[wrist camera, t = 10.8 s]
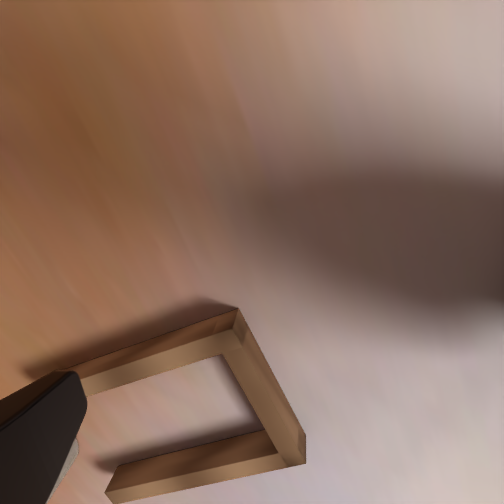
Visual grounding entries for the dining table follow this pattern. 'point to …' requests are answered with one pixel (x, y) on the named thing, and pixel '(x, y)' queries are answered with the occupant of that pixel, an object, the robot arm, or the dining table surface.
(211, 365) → the dining table surface
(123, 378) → the tan u-shaped frame
